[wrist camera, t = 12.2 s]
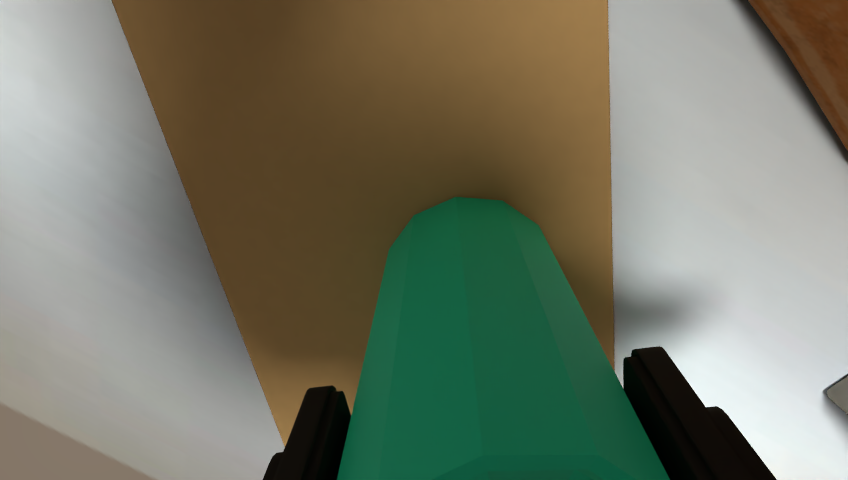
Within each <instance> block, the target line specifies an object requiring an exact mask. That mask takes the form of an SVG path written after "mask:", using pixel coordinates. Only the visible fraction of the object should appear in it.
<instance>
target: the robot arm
mask: <svg viewBox="0 0 848 480" xmlns="http://www.w3.org/2000/svg"><path fill="white" fill-rule="evenodd" d="M623 382H624V391H625V393H626V395H627V397H628V399H629V401H630V403H631V405H632V407H633V409H634V411H635V413H636V415H637V417H638V418H639V420H640V422H641V424H642V426H643V428H644V430H645V432H646V434H647V436H648V438H649V440H650V442H651V444H652V446H653V448H654V449H655V451H656V453H657V455H658V457H659V459H660V461H661V463H662V465H663V467H664V469H665V471H666V473H667V475H668V477H669V479H670V480H776V478H775V477H774V476H773V474H772V473H771V472H770V470H769V469H768V468H767V466H766V465H765V464H764V462H763V461H762V460H761V459H760V457H759V456H758V455H757V453H756V452H755V451H754V449H753V448H752V447H751V445H750V444H749V443H748V441H747V440H746V439H745V437H744V436H743V435H742V433H741V432H740V431H739V430H738V428H737V427H736V426H735V424H734V423H733V422H732V420H731V419H730V418H729V416H728V415H727V414H726V413H725V412H724V411H723V410H722V409H721V408H719V407H705V406H704V404H703V403H702V401H701V400H700V399H699V397H698V396H697V394H696V393H695V392H694V390H693V389H692V388H691V386H690V385H689V383H688V382H687V381H686V379H685V378H684V376H683V375H682V374H681V372H680V371H679V369H678V368H677V367H676V365H675V364H674V362H673V361H672V360H671V358H670V357H669V355H668V354H667V353H666V351H665V350H664V349H663V348H662V347H660V346H659V347H650V348H642V349H634V350H632V353H631V357H625V358H624V361H623ZM350 419H351V414H350V410H349V407H348V404H347V400H346V397H345V394H344V392H343V391H337V390H336V388H335V387H334V386H333V385H330V386H322V387H313V388H309V389H307V391H306V393H305V396H304V398H303V401H302V404H301V406H300V409H299V412H298V414H297V417H296V420H295V422H294V425H293V428H292V430H291V433H290V436H289V438H288V441H287V443H286V446H285V449H284V451H283V452H280V453H276V454H275V455H274V456H273V457H272V459H271V461H270V463H269V465H268V468H267V470H266V473H265V475H264V478H263V480H337V476H338V472H339V467H340V463H341V459H342V454H343V450H344V445H345V441H346V437H347V432H348V428H349V423H350Z"/></svg>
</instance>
